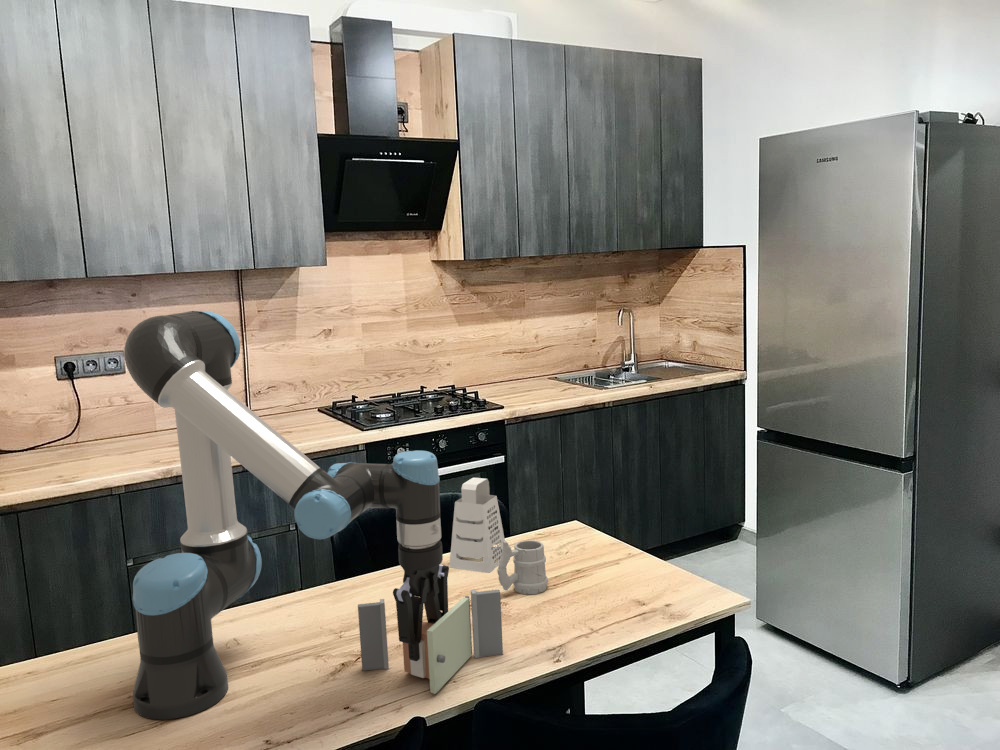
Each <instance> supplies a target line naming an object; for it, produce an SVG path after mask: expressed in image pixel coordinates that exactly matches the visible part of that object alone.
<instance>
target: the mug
mask: <svg viewBox="0 0 1000 750" xmlns="http://www.w3.org/2000/svg"><path fill="white" fill-rule="evenodd" d="M513 547H514V549H512V548H511V545H510V544H509V542H507V541H503V551H502V555H501V559H500V558H499V560H500V563H499V565H498V566H497V568H496V569H497V570H496V571H497V575H498V582H499V584H500V586H501V587H502V589H503V591H508V590H509V589H510V588H511V586H512V585H513V586H514V590H515V591H516V592H517V593H518V594H522V595H530V596H531V595H537V594H540V593H543V592H545V591H546V590H547V585H548V583H549V579H548V577H547V573H546V560H547V557H546V556H545V547H544V543H542V542H540V541H538V540H535V539H534V540H533V539H531V540H530V539H528V540H527V539H526V540H521V541H519V542H516V543H515V544H514V546H513ZM512 557H513V558H512ZM511 558H512V559H513V560H512V561H513V565H514V566H513V567H514V572H513V573H512V574H511V575H509V574H508V571H507V566H508V563H509V562H510V560H511Z"/></svg>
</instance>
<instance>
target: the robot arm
mask: <svg viewBox="0 0 1000 750" xmlns="http://www.w3.org/2000/svg"><path fill="white" fill-rule="evenodd" d="M123 349H124V351H123V356H124V357H123V358H124V361H125V366H126V369H127V371H128V373H129V375H130V377H131V378H132V379H133V381H134V382H135V384H136V386H138V387H139V388H140V390H142V391H143V392H144V394H145V395H146V396H148V397H149V399H151V400H152V401H154V402H155V404H157V405H158V406H160V407H161V408H163V409H165V408H168V409H169V408H173V410H174V414H175V424H176V434H177V440H178V442H177V443H178V451H179V460H180V466H181V467H180V469H181V476H182V477H181V479H182V487H183V488H182V489H183V494H184V496H183V497H184V504H185V505H184V506H185V514H186V524H187V529H186V530H185V532H184V533H183V534H182V536H181V537H180V538H179V539H180V540H179V542H180V549H181V552H179V553H172V554H168V555H166V556H165V557H163V558H161V557H159V558H156V559H154V560H152V561H150V562H148V563H146V564H145V565H144V566H142V567H141V568H140V569H139V570H138V571H137V572H136V574H135V576H134V579H133V582H132V592H133V593H132V604H133V609H134V615H135V625H136V633H137V641H138V648H139V658H140V662H139V666H138V671H137V675H136V679H135V682H134V687H133V692H132V701H133V708H134V710H135V712H136V713H137V714H138V715H139V716H140V717H143V718H146V719H150V720H162V721H163V720H173V719H179V718H184V717H188V716H192V715H195V714H198V713H201V712H203V711H204V710H207V709H208V708H210V707H213V706H214V705H215V704H217V703H218V702H219V701H220V700H222V699H223V698H224V696H226V694H227V692H228V690H229V680H228V674H227V673H228V672H227V670H226V668H225V666H224V664H223V661H222V660H221V658H220V655H219V654H218V651H217V649H216V648H215V645H214V638H213V627H212V619H213V618H214V617H216V616H217V615H218V614H220V613H221V612H223V610H225V609H226V608H227V607H228V606H229V607H230V605H231V604H232V603H234V602H235V601H238V600H240V598H242V597H244V596H245V595H246V594H247V592H249V591H250V589H251V588H253V586H254V585H255V584H256V583H257V580H258V579H259V578H260V577H259V576H260V574H261V572H262V564H263V563H262V561H263V560H262V556H261V552H260V548H259V546H258V544H257V543H254V542H253V539H252V537H251V536H249V534H248V529H247V527H246V526H245V525H243V524H242V523H241V522H239V521H238V518H237V517H238V515H237V506H236V498H235V485H234V478H233V467H232V458H233V459H234V460H235V461H236V462H237V463H239V464H240V465H241V466H242V467H244V468H245V470H247V471H248V472H249V473H251V474H252V475H253V476H254V477H255V478H256V479H258V480H259V481H261V483H262V484H264V485H265V487H268V488H269V489H270V490H271V491H272V492H273V493H275V494H276V495H277V496H279V497H280V498H281V499H282V500H283V501H285V503H287V504H288V505H289V506H290V507H292V508H293V509H294V521H295V522H296V525H297V527H298V529H299V531H300V532H301V533H303V534H304V536H306V537H308V538H311V539H314V540H325V539H329V538H330V537H332V536H333V535H336V534H337V533H339V532H342V531H343V530H344V529H346V528H347V526H349V524H350V523H351V522H352V521H354V519H356V518H357V517H359V516H360V515H361V514H363V513H364V512H365V511H366V510H368V509H371V508H372V509H395V517H396V536H397V537H396V538H397V542H398V546H397V549H398V550H397V552H398V563H399V566H400V567H401V568H402V569H403V572H404V574H403V578H402V585H401V586H400V587H399V588H393V591H392V595H393V598H394V600H395V607H396V619H397V631H398V641H399V642H400V643H403V642H404V643H408V649H409V659H410V664H411V673H410V675H411V676H414V677H417V678H418V677H419V678H422V679H424V678H425V677H426V662H425V643H424V641H423V640H421V633H422V621H423V615H424V612H425V614H426V622H428V623H432V624H435V623H436V622H437V621H438V620H439V619H440V618H441V617H443V616H444V615H445V614H446V613H447V612H448V611H449V594H448V593H449V591H448V590H449V588H448V579H449V578H448V577H449V571H450V568H449V565H445V564H444V565H443V564H442V563H443V558H444V557H443V556H444V555H443V542H442V541H441V539H442V526H441V525H442V524H441V500H440V495H441V493H440V482H441V480H440V478H441V477H440V476H439V465H438V459H437V456H436V455H435V454H434V453H433V452H431V451H427V450H407V451H402V452H399V453H396V454H395V456H393V460H392V461H393V462H392V463H367V462H366V463H365V462H362V463H360V462H359V463H358V462H353V461H348V462H342V463H341V462H339V463H334V464H332V465H330V467H328V470H327V471H325V470H324V469H323V468H321V467H320V466H319V465H317V464H316V463H315V462H314V461H313V460H312V459H310V458H309V457H308V456H307V455H305V454H304V453H303V452H302V451H301V450H299V448H297V447H296V446H295V445H293V444H292V443H291V442H290V441H289V440H287V439H286V438H285V437H284V436H283V435H282V434H280V433H279V432H278V431H277V430H276V429H275V428H273V427H272V426H271V425H269V424H268V423H267V422H266V421H265V420H264V419H263V418H261V417H260V416H259V415H257V414H256V413H255V412H254V411H252V410H251V408H249V407H248V406H247V405H246V404H244V403H243V402H242V401H241V400H240V399H238V398H237V397H236V396H235V395H233V393H231V392H230V391H229V389H230V388H231V387H232V386H233V380H232V369H231V368H233V367H234V365H235V364H236V362H237V361H238V359H239V357H240V353H241V342H240V337H239V335H238V331H237V330H236V328H235V327H234V326H233V325H232V323H231V322H230V321H229V320H227V318H225V317H224V316H222V315H221V314H218V313H216V312H214V311H208V310H191V311H186V312H185V311H183V312H177V313H172V314H167V315H166V314H165V315H155V316H152V317H149V318H146V319H144V320H142V321H141V322H139V323H138V324H137V325H136V326H135V327H133V329H132V330H131V331H130V332H129V334H128V336H127V338H126V341H125V344H124V348H123ZM424 610H425V611H424Z"/></svg>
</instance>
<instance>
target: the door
mask: <svg viewBox="0 0 1000 750" xmlns="http://www.w3.org/2000/svg"><path fill="white" fill-rule="evenodd" d="M470 601H471V598H470V595H466V596H464V597H463V598H461V600H459V601H457V603H455V605H454V606H453V607H451V608H450V609H448V612H447V613H446V614H445V615H444V616H443V617H441V618H440V619H439V620H438V621H437V622H436V623H435V624H434V625H433V626H431V627H430V628H429V629H428V630H427V642H428V659H429V677H430V679H429V692H430V693H431V694H434V695H436V694H437V693H438V692H439V691H440V690H441V689H442V688H443V686H445V685H446V683H447V682H449V680H450V679H451V678H452V677H453V676H454V675H455V674H456V673H457V672H458V670H459V669H461V667H463V665H465V663H466V662H467V661H468V660H469V659H470V658H471V656H472V654H473V644H472V643H473V639H472V624H471V623H472V622H471V621H472V619H471V605H470V603H471V602H470Z"/></svg>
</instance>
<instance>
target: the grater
mask: <svg viewBox="0 0 1000 750" xmlns="http://www.w3.org/2000/svg"><path fill="white" fill-rule="evenodd" d="M460 490H461V497H460V498H458V499H457V500H456V501H455V502H454V511H453V518H452V519H453V521H452V530H451V531H452V532H451V543H450V544H451V546H450V557H449V565H448V566H449V569H454V570H455V569H456V570H463V571H464V570H465V571H471V572H472V571H473V572H478V573H488V574H490V573H492V572H493V571H494V570H495V569H497V568H498V567H499V563H500V559H501V555H502V551H503V541H505V535H504V528H503V524H502V523H503V522H502V518H501V513H500V507H499V502H498V497H497V495H493V494H490V481H489V479H488V478H481V477H472V478H470V479H469V480H467V481H465V482H464V483H462V485H461V489H460ZM462 558H467V560H466V559H462ZM468 559H477V560H480V559H482V560H481V561H475V560H468Z"/></svg>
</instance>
